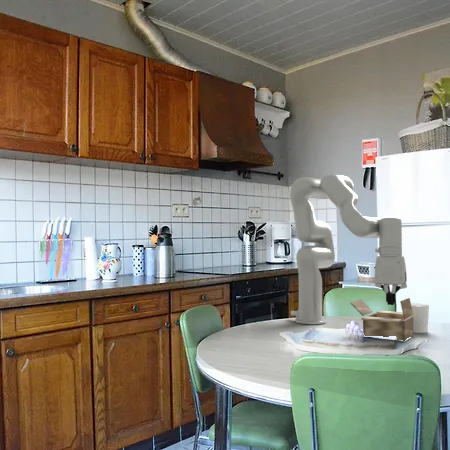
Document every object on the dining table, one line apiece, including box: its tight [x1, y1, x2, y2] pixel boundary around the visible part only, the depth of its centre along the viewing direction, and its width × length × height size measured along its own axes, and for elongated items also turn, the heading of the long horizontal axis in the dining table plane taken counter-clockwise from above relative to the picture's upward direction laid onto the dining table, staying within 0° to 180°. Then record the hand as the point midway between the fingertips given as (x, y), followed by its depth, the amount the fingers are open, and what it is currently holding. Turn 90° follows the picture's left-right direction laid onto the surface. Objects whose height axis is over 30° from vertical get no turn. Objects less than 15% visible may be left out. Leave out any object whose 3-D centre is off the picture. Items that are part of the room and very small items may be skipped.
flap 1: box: [350, 299, 374, 317], centre depth 172 cm, size 1×11×6 cm
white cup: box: [411, 302, 430, 334], centre depth 177 cm, size 8×8×10 cm
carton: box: [360, 310, 415, 341], centre depth 166 cm, size 14×22×8 cm, turn 145°
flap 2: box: [399, 297, 413, 319], centre depth 163 cm, size 1×11×6 cm, turn 146°
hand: (391, 304), depth 166 cm, fingers closed
